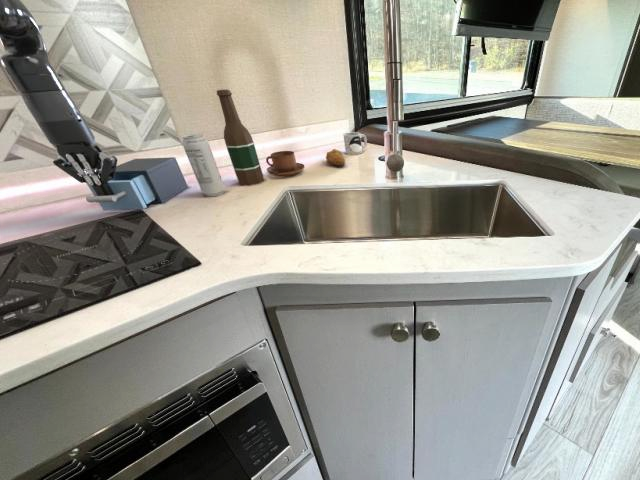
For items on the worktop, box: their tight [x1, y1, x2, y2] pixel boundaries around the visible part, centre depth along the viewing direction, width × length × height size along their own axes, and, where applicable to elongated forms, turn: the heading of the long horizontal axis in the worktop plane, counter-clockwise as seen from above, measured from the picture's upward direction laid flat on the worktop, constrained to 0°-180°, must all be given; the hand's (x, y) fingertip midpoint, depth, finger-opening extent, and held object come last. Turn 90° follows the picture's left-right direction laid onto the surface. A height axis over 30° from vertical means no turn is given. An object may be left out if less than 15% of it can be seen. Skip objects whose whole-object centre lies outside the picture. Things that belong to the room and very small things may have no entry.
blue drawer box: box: [115, 156, 189, 205], centre depth 88 cm, size 14×12×9 cm
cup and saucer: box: [265, 150, 305, 177], centre depth 103 cm, size 12×12×6 cm
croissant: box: [325, 148, 346, 167], centre depth 111 cm, size 14×7×5 cm, turn 29°
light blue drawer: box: [85, 174, 157, 211], centre depth 80 cm, size 17×10×7 cm, turn 1°
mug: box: [342, 131, 368, 155], centre depth 125 cm, size 10×7×7 cm, turn 131°
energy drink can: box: [181, 133, 226, 197], centre depth 86 cm, size 6×6×15 cm
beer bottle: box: [216, 89, 265, 186], centre depth 91 cm, size 8×8×24 cm
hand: (109, 199), depth 75 cm, fingers closed
